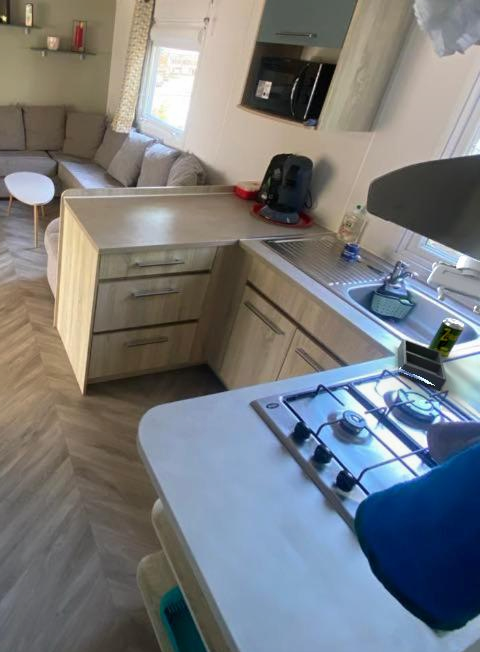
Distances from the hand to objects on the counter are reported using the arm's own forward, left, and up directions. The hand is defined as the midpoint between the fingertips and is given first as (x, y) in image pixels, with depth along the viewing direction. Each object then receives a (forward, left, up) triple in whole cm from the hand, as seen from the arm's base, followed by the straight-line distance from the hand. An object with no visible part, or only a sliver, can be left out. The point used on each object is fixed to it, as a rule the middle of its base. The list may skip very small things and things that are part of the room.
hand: (458, 305), depth 137 cm
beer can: (+1, +9, -15) cm, 17 cm away
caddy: (+7, +25, -14) cm, 30 cm away
